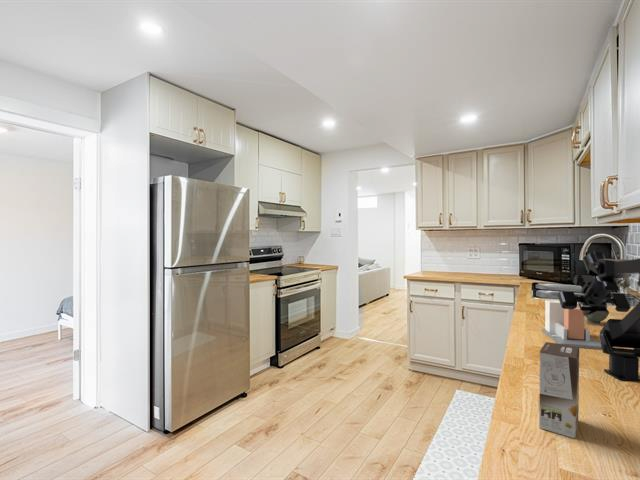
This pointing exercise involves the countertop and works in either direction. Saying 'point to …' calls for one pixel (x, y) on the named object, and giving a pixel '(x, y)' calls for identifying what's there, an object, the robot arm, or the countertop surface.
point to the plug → (574, 323)
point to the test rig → (559, 332)
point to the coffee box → (559, 388)
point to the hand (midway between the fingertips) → (584, 314)
